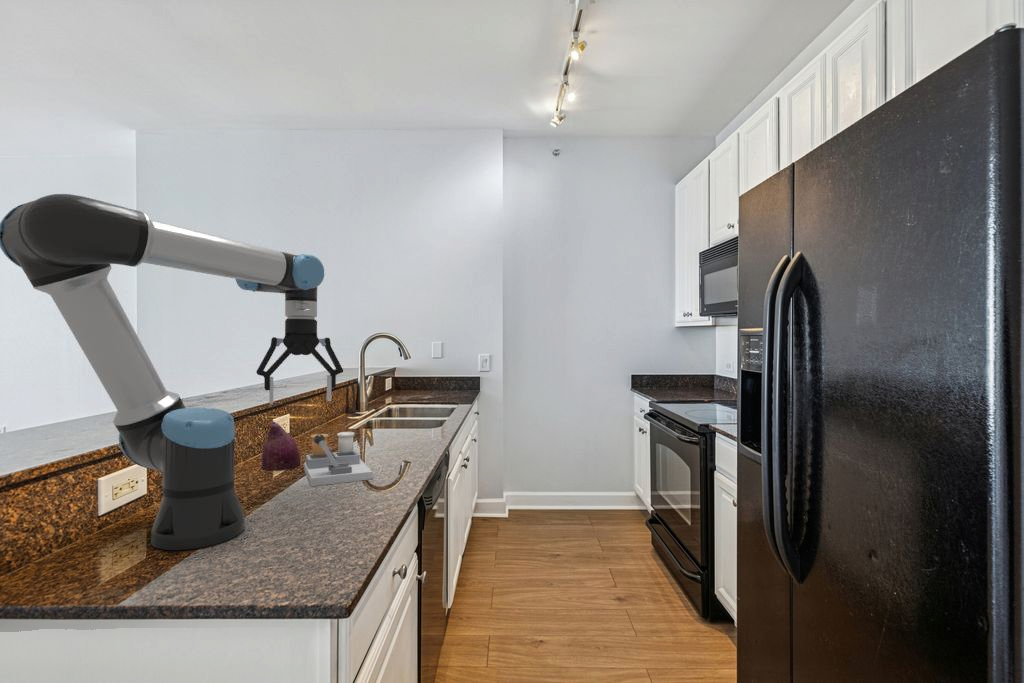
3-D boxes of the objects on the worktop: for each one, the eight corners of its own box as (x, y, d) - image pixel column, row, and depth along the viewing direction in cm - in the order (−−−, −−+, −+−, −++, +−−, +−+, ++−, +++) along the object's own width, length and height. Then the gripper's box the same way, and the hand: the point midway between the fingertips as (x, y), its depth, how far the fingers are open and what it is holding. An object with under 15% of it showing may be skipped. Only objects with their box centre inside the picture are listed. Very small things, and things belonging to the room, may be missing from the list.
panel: (311, 486, 130) (311, 468, 130) (304, 469, 146) (304, 453, 146) (372, 479, 137) (372, 462, 137) (358, 463, 153) (358, 448, 153)
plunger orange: (311, 455, 140) (311, 437, 140) (309, 452, 144) (309, 434, 144) (329, 454, 142) (329, 436, 142) (327, 450, 146) (327, 433, 146)
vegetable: (276, 483, 143) (267, 434, 139) (255, 473, 149) (246, 425, 145) (309, 466, 152) (302, 420, 147) (288, 457, 157) (280, 412, 153)
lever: (334, 472, 135) (312, 439, 132) (332, 469, 137) (311, 437, 135) (343, 466, 136) (322, 433, 133) (341, 464, 138) (320, 431, 136)
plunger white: (338, 453, 143) (338, 435, 143) (336, 450, 147) (336, 432, 147) (355, 451, 145) (355, 433, 145) (352, 448, 149) (352, 431, 149)
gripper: (246, 316, 122) (245, 406, 122) (354, 319, 134) (354, 401, 134) (245, 317, 129) (245, 402, 129) (349, 319, 140) (348, 398, 140)
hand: (300, 402), depth 131 cm, fingers open, 13 cm apart
